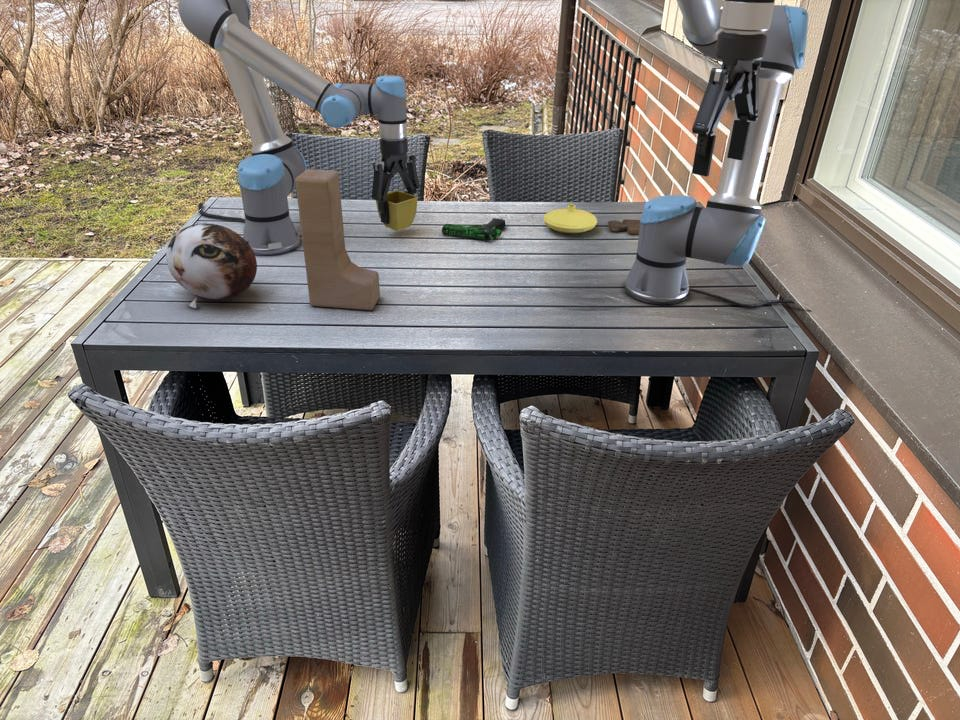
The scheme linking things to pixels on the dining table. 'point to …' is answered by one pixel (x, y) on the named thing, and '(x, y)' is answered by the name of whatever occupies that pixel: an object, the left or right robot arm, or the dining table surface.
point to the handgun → (476, 230)
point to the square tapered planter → (400, 209)
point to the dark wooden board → (625, 226)
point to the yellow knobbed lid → (570, 220)
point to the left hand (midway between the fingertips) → (397, 218)
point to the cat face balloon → (211, 261)
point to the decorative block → (330, 246)
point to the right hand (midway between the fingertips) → (718, 166)
